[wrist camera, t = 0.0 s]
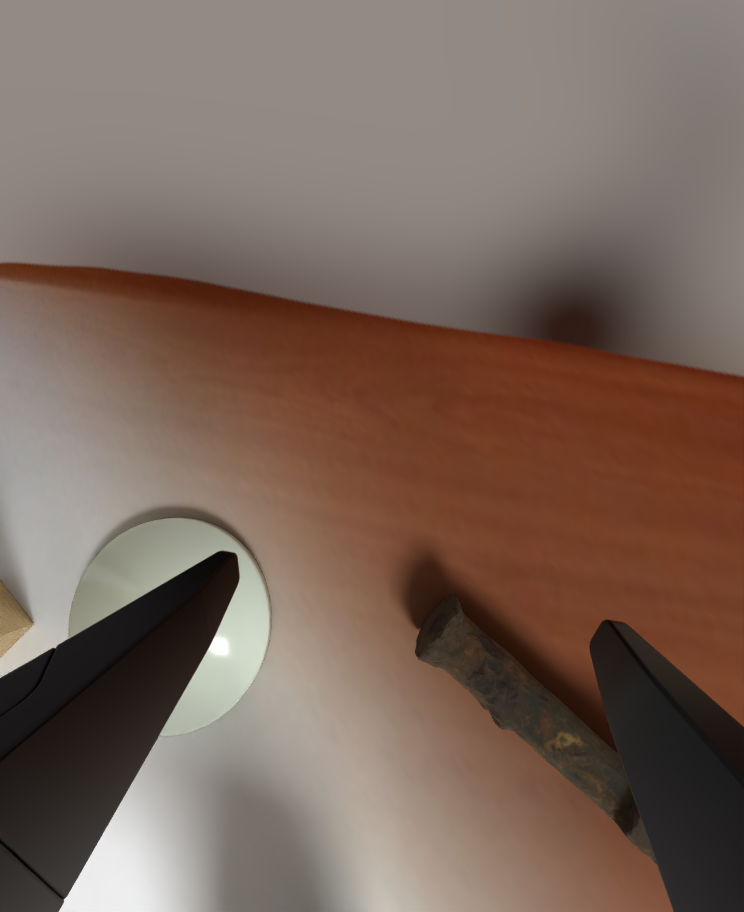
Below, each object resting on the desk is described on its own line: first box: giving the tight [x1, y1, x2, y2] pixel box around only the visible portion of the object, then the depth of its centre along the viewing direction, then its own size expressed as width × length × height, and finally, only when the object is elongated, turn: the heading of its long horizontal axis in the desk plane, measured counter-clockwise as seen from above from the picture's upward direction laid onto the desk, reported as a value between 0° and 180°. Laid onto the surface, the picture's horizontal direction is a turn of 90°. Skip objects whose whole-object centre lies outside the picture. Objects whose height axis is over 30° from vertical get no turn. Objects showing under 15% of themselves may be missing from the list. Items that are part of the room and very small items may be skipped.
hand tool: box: [415, 594, 657, 864], centre depth 19 cm, size 19×4×5 cm, turn 47°
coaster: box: [68, 518, 272, 737], centre depth 23 cm, size 14×14×1 cm
